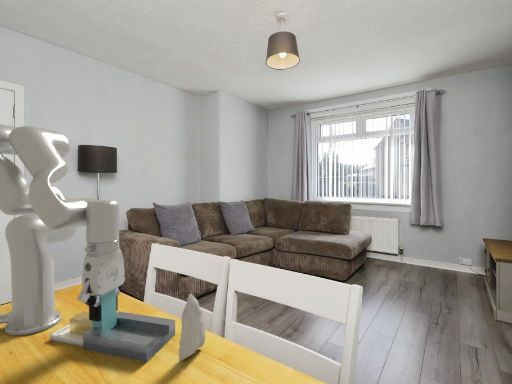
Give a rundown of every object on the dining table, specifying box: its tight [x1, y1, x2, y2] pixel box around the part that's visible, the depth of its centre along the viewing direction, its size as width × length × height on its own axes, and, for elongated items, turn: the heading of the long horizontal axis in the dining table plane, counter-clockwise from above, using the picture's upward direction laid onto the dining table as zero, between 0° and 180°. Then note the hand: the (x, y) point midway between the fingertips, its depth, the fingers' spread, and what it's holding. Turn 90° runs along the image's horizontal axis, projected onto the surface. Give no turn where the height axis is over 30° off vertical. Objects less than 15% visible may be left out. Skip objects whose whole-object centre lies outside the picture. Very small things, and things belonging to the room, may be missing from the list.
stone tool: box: [178, 293, 206, 362], centre depth 65 cm, size 8×3×15 cm, turn 150°
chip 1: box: [69, 311, 89, 335], centre depth 75 cm, size 4×4×4 cm
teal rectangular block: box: [92, 288, 118, 330], centre depth 73 cm, size 3×5×11 cm, turn 165°
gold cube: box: [82, 314, 93, 333], centre depth 74 cm, size 4×4×4 cm
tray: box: [49, 323, 83, 348], centre depth 75 cm, size 11×10×2 cm
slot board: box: [82, 311, 176, 363], centre depth 71 cm, size 18×12×4 cm, turn 75°
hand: (103, 314), depth 73 cm, fingers closed on teal rectangular block, 4 cm apart
